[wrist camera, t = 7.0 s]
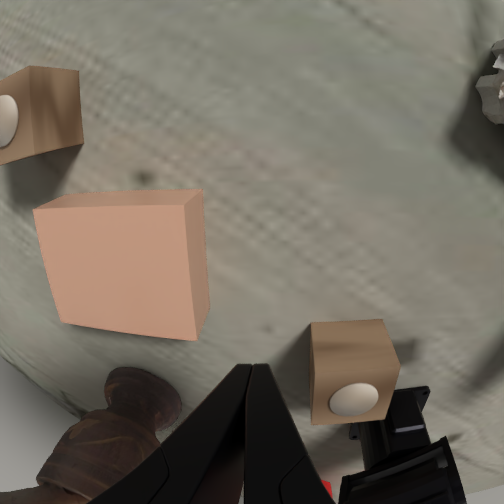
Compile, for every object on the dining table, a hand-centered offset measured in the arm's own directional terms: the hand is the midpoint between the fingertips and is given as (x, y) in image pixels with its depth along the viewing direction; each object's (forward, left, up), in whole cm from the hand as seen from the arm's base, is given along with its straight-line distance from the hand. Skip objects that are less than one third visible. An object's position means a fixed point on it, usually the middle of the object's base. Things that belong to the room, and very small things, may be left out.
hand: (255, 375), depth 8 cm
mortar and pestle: (-14, +14, -12) cm, 23 cm away
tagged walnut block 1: (+9, +14, -12) cm, 20 cm away
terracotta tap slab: (-1, +9, -12) cm, 15 cm away
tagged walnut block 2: (-9, -5, -12) cm, 16 cm away
